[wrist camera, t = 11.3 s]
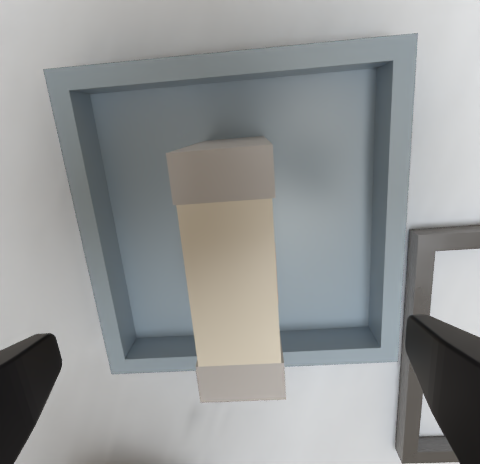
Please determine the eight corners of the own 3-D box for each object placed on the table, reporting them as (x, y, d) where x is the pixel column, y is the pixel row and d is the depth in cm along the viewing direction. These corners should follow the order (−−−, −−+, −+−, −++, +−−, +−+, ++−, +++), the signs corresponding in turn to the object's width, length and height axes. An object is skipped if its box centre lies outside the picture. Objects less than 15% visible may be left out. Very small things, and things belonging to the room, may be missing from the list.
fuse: (221, 292, 22) (200, 402, 13) (205, 140, 19) (165, 153, 10) (272, 289, 21) (286, 399, 13) (263, 135, 19) (272, 144, 10)
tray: (128, 344, 24) (111, 374, 21) (74, 77, 19) (43, 69, 16) (379, 332, 23) (397, 361, 20) (391, 47, 18) (417, 33, 15)
